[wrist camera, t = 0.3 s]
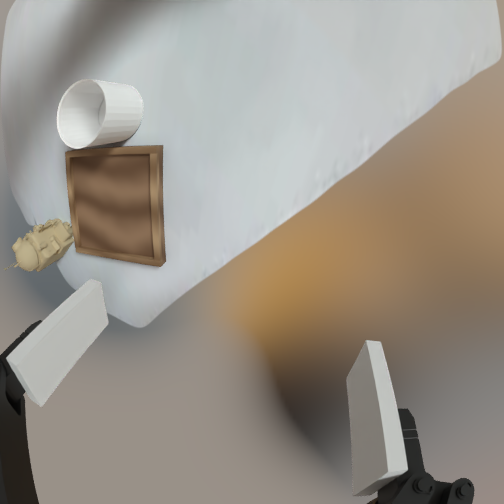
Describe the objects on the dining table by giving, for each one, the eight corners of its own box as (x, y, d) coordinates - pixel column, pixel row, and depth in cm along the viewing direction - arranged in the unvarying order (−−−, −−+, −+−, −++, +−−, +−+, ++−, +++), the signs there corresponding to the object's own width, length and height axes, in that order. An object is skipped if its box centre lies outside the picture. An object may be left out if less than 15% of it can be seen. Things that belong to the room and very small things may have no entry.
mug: (155, 97, 34) (117, 92, 25) (128, 151, 37) (89, 160, 29) (101, 71, 32) (61, 65, 24) (79, 120, 36) (39, 125, 28)
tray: (73, 150, 38) (65, 151, 37) (162, 145, 36) (156, 146, 34) (82, 247, 46) (76, 252, 44) (165, 261, 44) (160, 266, 42)
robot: (58, 200, 43) (-2, 228, 29) (80, 233, 45) (23, 270, 31) (39, 231, 47) (-12, 261, 33) (60, 261, 49) (11, 297, 35)
